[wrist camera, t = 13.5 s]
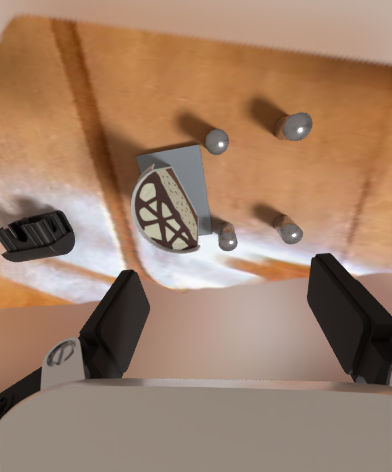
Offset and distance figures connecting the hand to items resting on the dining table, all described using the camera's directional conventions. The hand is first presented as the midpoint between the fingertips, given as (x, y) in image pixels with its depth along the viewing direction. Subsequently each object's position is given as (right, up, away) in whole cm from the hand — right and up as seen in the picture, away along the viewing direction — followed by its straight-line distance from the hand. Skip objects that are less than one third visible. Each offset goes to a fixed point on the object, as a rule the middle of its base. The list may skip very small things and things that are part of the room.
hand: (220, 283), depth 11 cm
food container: (-6, +9, +23) cm, 25 cm away
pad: (-4, +9, +23) cm, 25 cm away
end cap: (-30, +4, +28) cm, 41 cm away
